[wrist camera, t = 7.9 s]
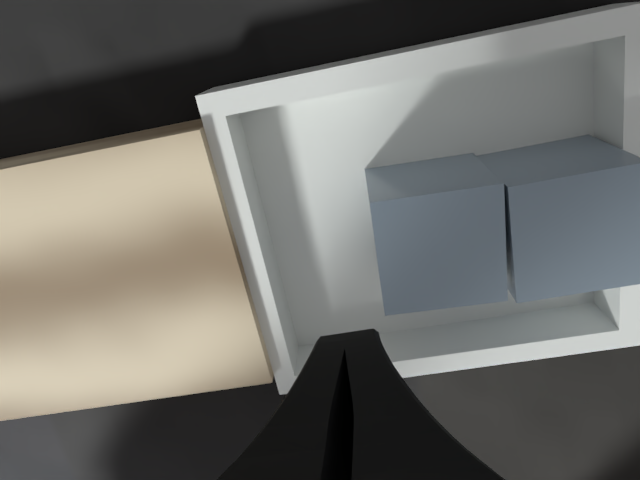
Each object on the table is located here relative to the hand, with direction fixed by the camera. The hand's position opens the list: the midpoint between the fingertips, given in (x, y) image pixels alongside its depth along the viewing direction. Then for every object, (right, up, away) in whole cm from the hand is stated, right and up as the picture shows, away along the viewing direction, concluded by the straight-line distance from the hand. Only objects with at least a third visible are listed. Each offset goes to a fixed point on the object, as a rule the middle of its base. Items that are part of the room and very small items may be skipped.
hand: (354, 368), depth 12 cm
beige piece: (-9, +2, +10) cm, 14 cm away
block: (+5, +3, +6) cm, 9 cm away
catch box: (+3, +4, +9) cm, 10 cm away
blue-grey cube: (+3, +4, +8) cm, 10 cm away
